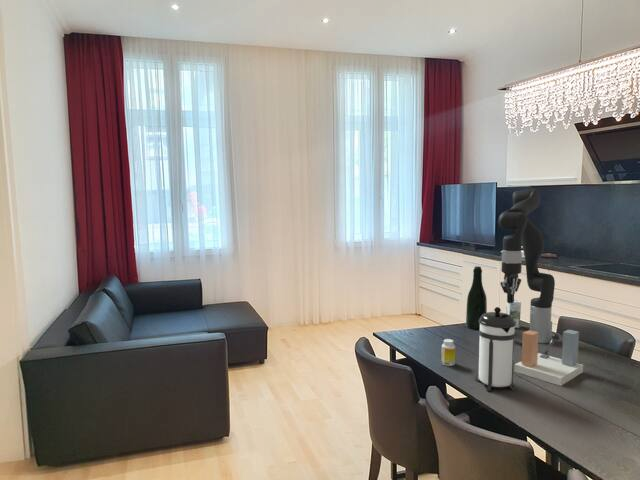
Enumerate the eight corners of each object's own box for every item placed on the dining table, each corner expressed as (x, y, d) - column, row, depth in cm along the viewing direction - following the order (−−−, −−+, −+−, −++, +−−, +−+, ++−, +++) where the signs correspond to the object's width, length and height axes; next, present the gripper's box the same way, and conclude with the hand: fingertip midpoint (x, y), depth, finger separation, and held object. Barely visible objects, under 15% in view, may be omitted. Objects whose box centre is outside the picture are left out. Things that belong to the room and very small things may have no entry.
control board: (514, 371, 183) (514, 362, 182) (537, 359, 195) (538, 351, 195) (560, 385, 169) (561, 376, 168) (582, 372, 181) (583, 363, 181)
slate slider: (561, 363, 182) (563, 332, 181) (567, 360, 185) (568, 329, 184) (572, 366, 179) (573, 334, 178) (577, 363, 182) (579, 331, 181)
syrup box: (516, 325, 245) (517, 299, 244) (520, 328, 239) (521, 301, 238) (505, 325, 246) (506, 299, 244) (509, 328, 240) (509, 301, 238)
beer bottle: (462, 327, 243) (463, 266, 239) (472, 323, 250) (473, 264, 246) (480, 331, 235) (482, 268, 232) (490, 327, 242) (491, 266, 239)
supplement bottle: (457, 365, 190) (458, 341, 189) (447, 367, 188) (448, 343, 187) (448, 360, 195) (449, 337, 194) (438, 362, 193) (438, 339, 192)
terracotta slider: (521, 364, 182) (522, 332, 180) (527, 361, 185) (528, 330, 183) (531, 367, 179) (532, 335, 177) (537, 363, 182) (538, 332, 180)
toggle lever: (541, 352, 189) (552, 333, 185) (544, 350, 191) (555, 331, 187) (547, 356, 188) (558, 337, 183) (550, 354, 189) (561, 335, 185)
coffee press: (523, 383, 171) (526, 306, 168) (507, 397, 160) (510, 314, 156) (479, 371, 183) (481, 299, 180) (461, 383, 171) (463, 306, 168)
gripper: (511, 258, 191) (509, 298, 193) (494, 261, 183) (493, 303, 185) (528, 260, 186) (527, 301, 187) (512, 264, 177) (510, 307, 179)
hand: (510, 302), depth 186 cm, fingers closed
